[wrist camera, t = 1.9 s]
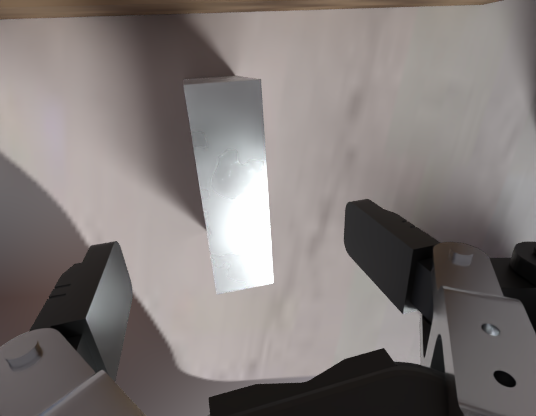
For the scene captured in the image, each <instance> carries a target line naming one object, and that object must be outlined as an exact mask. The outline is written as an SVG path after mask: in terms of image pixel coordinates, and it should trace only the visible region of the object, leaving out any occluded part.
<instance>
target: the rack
mask: <svg viewBox="0 0 536 416" xmlns="http://www.w3.org/2000/svg"><path fill="white" fill-rule="evenodd" d="M498 1H502V0H0V19H24V18H57V17H90V16H123V15H156V14H189V13H222V12H255V11H288V10H320V9H353V8H386V7H419V6H452V5H484V4H488V3H493V2H498Z"/></svg>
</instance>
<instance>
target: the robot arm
mask: <svg viewBox="0 0 536 416" xmlns="http://www.w3.org/2000/svg"><path fill="white" fill-rule="evenodd" d="M344 244H345V248H346V251H347V253H348V254H349V256H350V257H351V258H352V259H353V260H354V261H355V262H356V263H357V264H358V266H359V267H360V268H361V269H362V270H363V271H364V272H365V273H366V274H367V275H368V276H369V278H370V279H371V280H372V281H373V282H374V283H375V284H376V285H377V286H378V287H379V289H380V290H381V291H382V292H383V293H384V294H385V295H386V296H387V297H388V298H389V299H390V301H391V302H392V303H393V304H394V305H395V306H396V307H397V308H398V309H399V310H400V311H401V313H402V314H406V313H410V312H413V311H417V310H419V311H420V312H421V316H420V365H418V364H413V363H405V362H394V361H393V360H392V359H391V357H390V356H389V354H388V353H387V352H386V350H385V349H384V348H383V349H379V350H376V351H372V352H369V353H365V354H361V355H358V356H354V357H351V358H347V359H344V360H343V361H341V362H339V363H338V364H336V365H334V366H333V367H331V368H329V369H328V370H326V371H324V372H323V373H321V374H319V375H318V376H316V377H314V378H313V379H311V380H309V381H307V382H303V383H279V384H255V385H252V386H248V387H244V388H241V389H237V390H234V391H230V392H227V393H223V394H219V395H216V396H213V397H209V407H210V415H208V416H536V242H521V243H518V244H517V245H515V248H514V251H513V254H512V257H511V258H489V257H488V255H487V254H486V253H484V252H483V251H481V250H480V249H478V248H476V247H473V246H471V245H468V244H464V243H458V242H443V243H440V242H438V241H437V240H435V239H434V238H432V237H431V236H429V235H428V234H426V233H425V232H423V231H422V230H420V229H419V228H417V227H415V226H414V225H413V224H411V223H410V222H407V220H405V219H404V218H402V217H401V216H399V215H398V214H396V213H393V212H390V211H387V210H385V209H383V208H381V207H380V206H378V205H377V204H375V203H374V202H372V201H371V200H369V199H364V200H358V201H352V202H348V203H347V205H346V209H345V228H344ZM131 302H132V285H131V280H130V277H129V273H128V270H127V267H126V264H125V260H124V257H123V254H122V250H121V247H120V245H119V243H118V242H117V241H115V242H109V243H103V244H97V245H92V246H90V248H89V250H88V252H87V254H86V256H85V258H84V260H83V262H82V263H78V264H74V265H73V266H72V267H70V268H69V269H68V270H67V271H66V272H65V273H63V274H62V275H61V277H60V278H59V280H58V282H57V284H56V286H55V289H53V291H52V292H51V294H50V296H49V299H47V301H46V303H45V305H44V306H43V308H42V310H41V312H40V313H39V315H38V317H37V319H36V320H35V322H34V324H33V325H32V327H31V329H30V331H29V332H26V333H24V334H22V335H20V336H18V337H16V338H14V339H12V340H10V341H9V342H7V343H6V344H4V345H3V346H1V347H0V416H146V415H145V414H144V413H143V412H142V411H141V410H140V409H139V408H138V407H137V405H136V404H135V403H134V402H133V401H132V400H131V399H130V398H129V397H128V396H127V395H126V394H125V393H124V391H123V390H122V389H121V388H120V387H119V386H118V385H117V384H116V383H115V381H116V376H117V371H118V365H119V361H120V356H121V351H122V346H123V341H124V337H125V332H126V327H127V322H128V317H129V312H130V308H131Z"/></svg>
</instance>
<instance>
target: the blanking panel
mask: <svg viewBox="0 0 536 416" xmlns="http://www.w3.org/2000/svg"><path fill="white" fill-rule="evenodd" d="M183 86H184V93H185V99H186V105H187V111H188V118H189V124H190V130H191V136H192V143H193V149H194V155H195V161H196V168H197V174H198V180H199V187H200V193H201V199H202V205H203V212H204V218H205V224H206V230H207V237H208V243H209V249H210V256H211V262H212V268H213V274H214V281H215V287H216V293H217V294H222V293H227V292H232V291H237V290H242V289H247V288H252V287H257V286H262V285H267V284H272V283H273V267H272V251H271V235H270V218H269V202H268V186H267V170H266V153H265V137H264V121H263V105H262V88H261V79H255V78H248V77H241V76H223V77H209V78H195V79H184V83H183Z"/></svg>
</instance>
